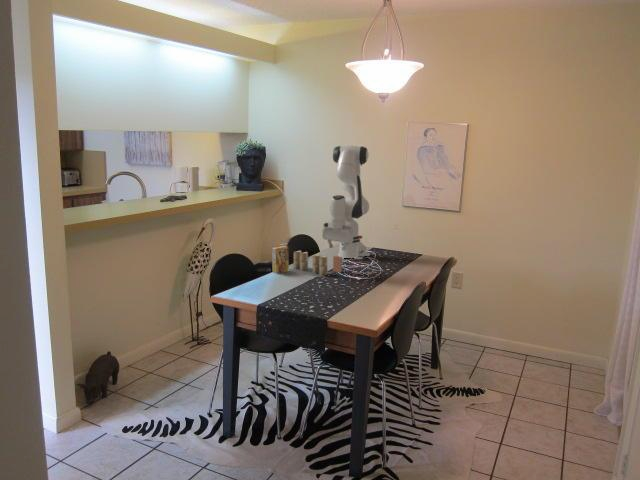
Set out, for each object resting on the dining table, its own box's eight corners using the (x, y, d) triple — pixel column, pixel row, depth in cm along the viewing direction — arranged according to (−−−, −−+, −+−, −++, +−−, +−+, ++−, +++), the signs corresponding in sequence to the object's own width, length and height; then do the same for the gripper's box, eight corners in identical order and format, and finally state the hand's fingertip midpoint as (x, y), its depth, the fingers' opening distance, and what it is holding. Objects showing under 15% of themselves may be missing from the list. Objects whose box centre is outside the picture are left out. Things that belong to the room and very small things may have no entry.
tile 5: (325, 273, 290) (325, 255, 288) (327, 273, 289) (327, 256, 287) (319, 274, 286) (319, 257, 284) (321, 275, 285) (321, 257, 283)
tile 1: (299, 267, 303) (299, 250, 301) (301, 267, 302) (301, 251, 300) (293, 268, 299) (293, 252, 297) (295, 269, 298) (295, 252, 296)
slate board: (302, 267, 307) (302, 265, 306) (332, 274, 291) (332, 272, 291) (287, 271, 298) (287, 269, 298) (318, 279, 282) (318, 277, 282)
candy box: (284, 271, 298) (284, 245, 295) (289, 272, 295) (288, 246, 292) (272, 274, 293) (271, 247, 290) (276, 275, 289) (276, 249, 286)
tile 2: (305, 268, 300) (305, 251, 298) (307, 269, 299) (307, 252, 297) (299, 270, 296) (299, 253, 294) (301, 270, 295) (301, 253, 293)
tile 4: (318, 271, 293) (318, 254, 291) (320, 272, 292) (320, 254, 290) (312, 273, 290) (312, 256, 288) (314, 273, 289) (314, 256, 287)
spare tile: (333, 273, 295) (333, 256, 293) (335, 272, 296) (335, 255, 294) (339, 274, 292) (340, 257, 290) (341, 274, 293) (341, 256, 291)
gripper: (356, 226, 284) (355, 250, 286) (328, 222, 297) (327, 245, 300) (348, 227, 279) (348, 252, 282) (320, 223, 292) (320, 247, 295)
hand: (337, 248), depth 291 cm, fingers open, 8 cm apart
